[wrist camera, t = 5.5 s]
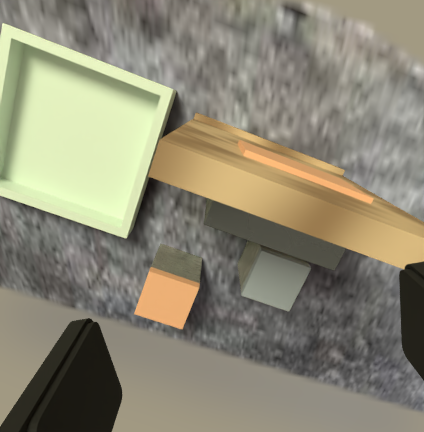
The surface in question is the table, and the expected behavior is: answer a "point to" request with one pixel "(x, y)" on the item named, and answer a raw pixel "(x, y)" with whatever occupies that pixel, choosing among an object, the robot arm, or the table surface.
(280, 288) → the block
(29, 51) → the tray
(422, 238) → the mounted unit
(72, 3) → the table surface
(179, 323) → the block
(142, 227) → the table surface
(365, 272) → the table surface
